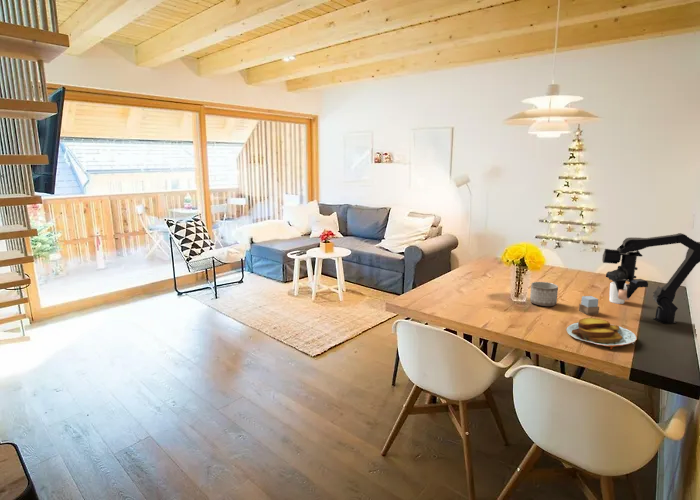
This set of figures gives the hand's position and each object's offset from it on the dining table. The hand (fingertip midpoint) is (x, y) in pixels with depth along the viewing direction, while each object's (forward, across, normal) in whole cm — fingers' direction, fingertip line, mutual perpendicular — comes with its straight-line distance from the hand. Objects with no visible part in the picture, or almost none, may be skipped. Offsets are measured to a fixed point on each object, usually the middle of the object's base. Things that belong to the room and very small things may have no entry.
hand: (623, 296), depth 188 cm
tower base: (+10, -7, -12) cm, 17 cm away
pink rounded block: (+1, 0, 0) cm, 1 cm away
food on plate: (+11, +20, -28) cm, 36 cm away
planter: (+10, -23, -26) cm, 36 cm away
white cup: (+10, -19, +14) cm, 26 cm away
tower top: (+6, -7, -12) cm, 15 cm away
